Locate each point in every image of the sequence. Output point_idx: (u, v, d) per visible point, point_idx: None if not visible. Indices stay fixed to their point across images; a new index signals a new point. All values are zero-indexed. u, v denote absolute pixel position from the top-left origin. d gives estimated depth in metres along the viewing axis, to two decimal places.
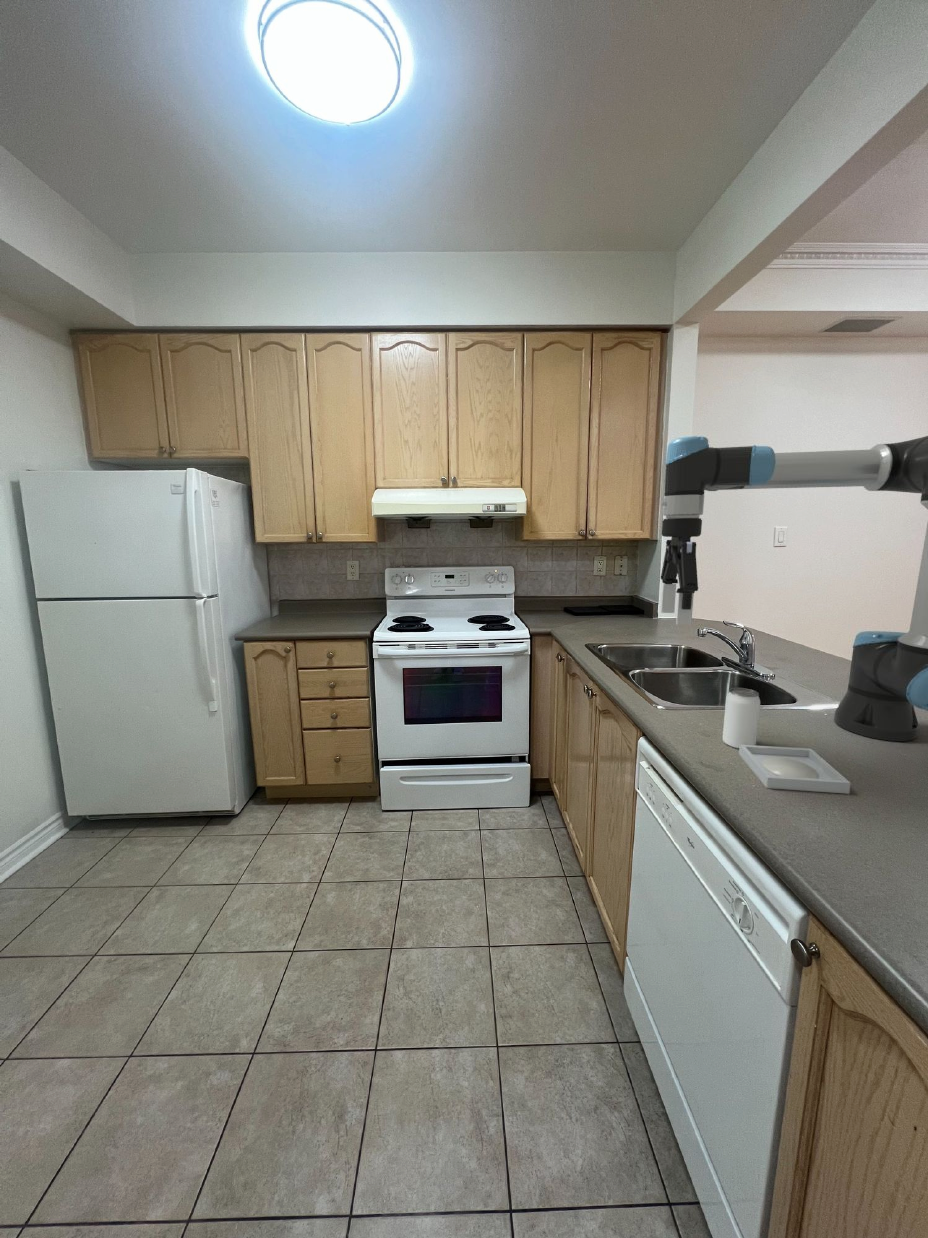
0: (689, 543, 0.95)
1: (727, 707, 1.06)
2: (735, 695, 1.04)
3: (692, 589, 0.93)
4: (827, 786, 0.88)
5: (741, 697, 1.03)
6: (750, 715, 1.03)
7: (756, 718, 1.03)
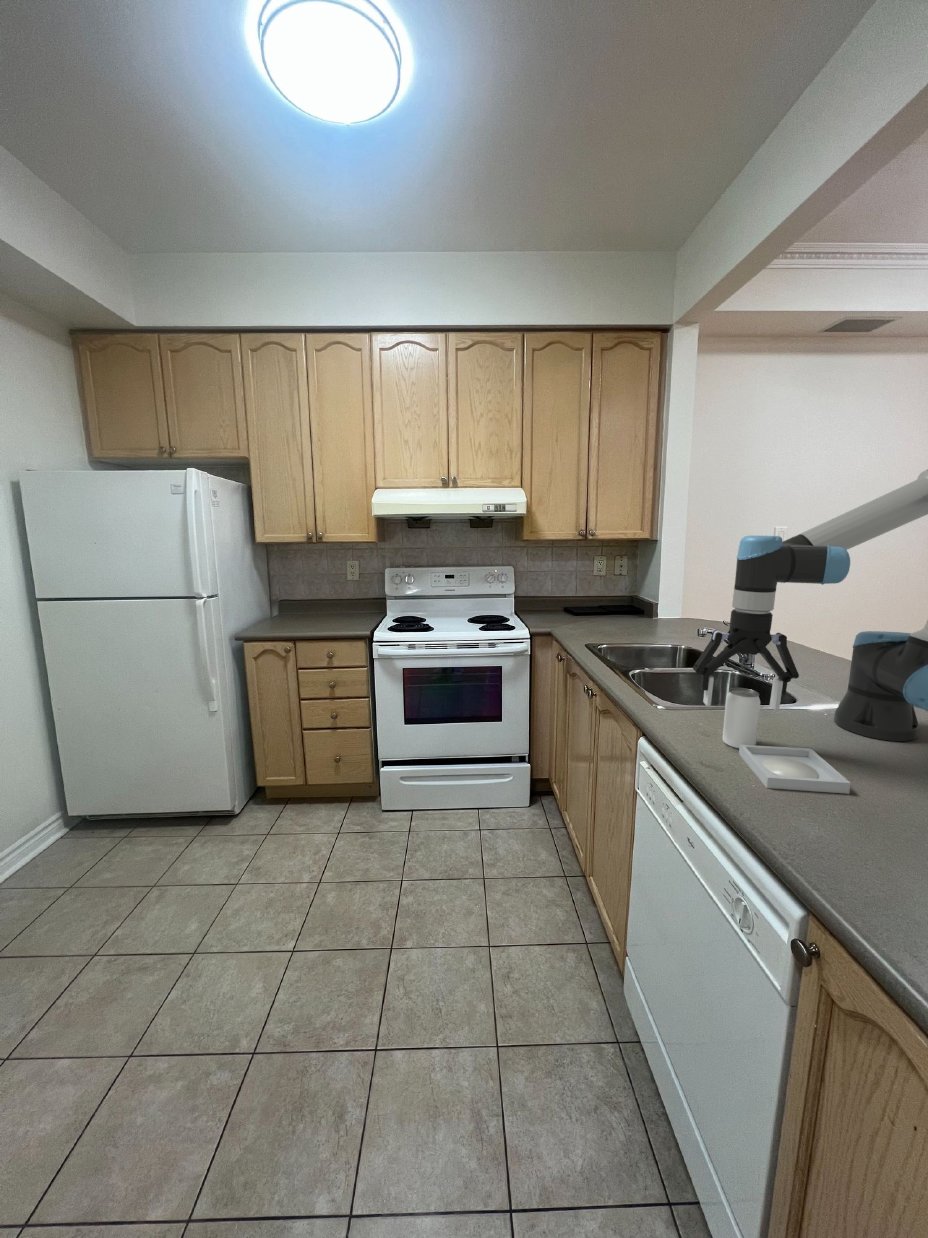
0: (714, 633, 1.04)
1: (727, 707, 1.06)
2: (735, 695, 1.04)
3: (694, 670, 1.06)
4: (827, 786, 0.88)
5: (741, 697, 1.03)
6: (750, 715, 1.03)
7: (756, 718, 1.03)
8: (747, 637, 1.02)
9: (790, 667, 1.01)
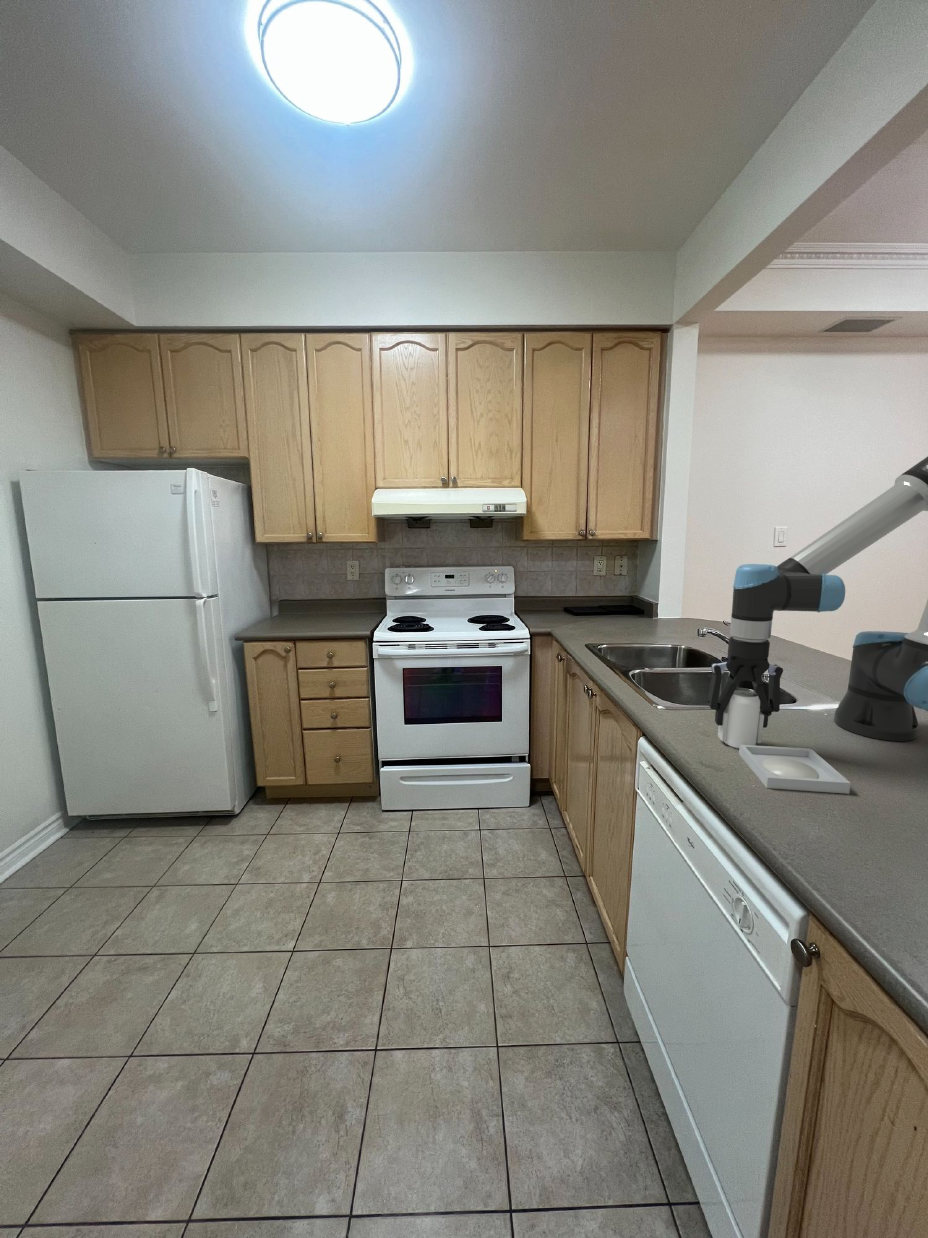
0: (712, 666, 1.05)
1: (727, 707, 1.06)
2: (735, 695, 1.04)
3: (709, 706, 1.07)
4: (827, 786, 0.88)
5: (741, 697, 1.03)
6: (750, 715, 1.03)
7: (756, 718, 1.03)
8: (744, 660, 1.03)
9: (774, 700, 1.03)
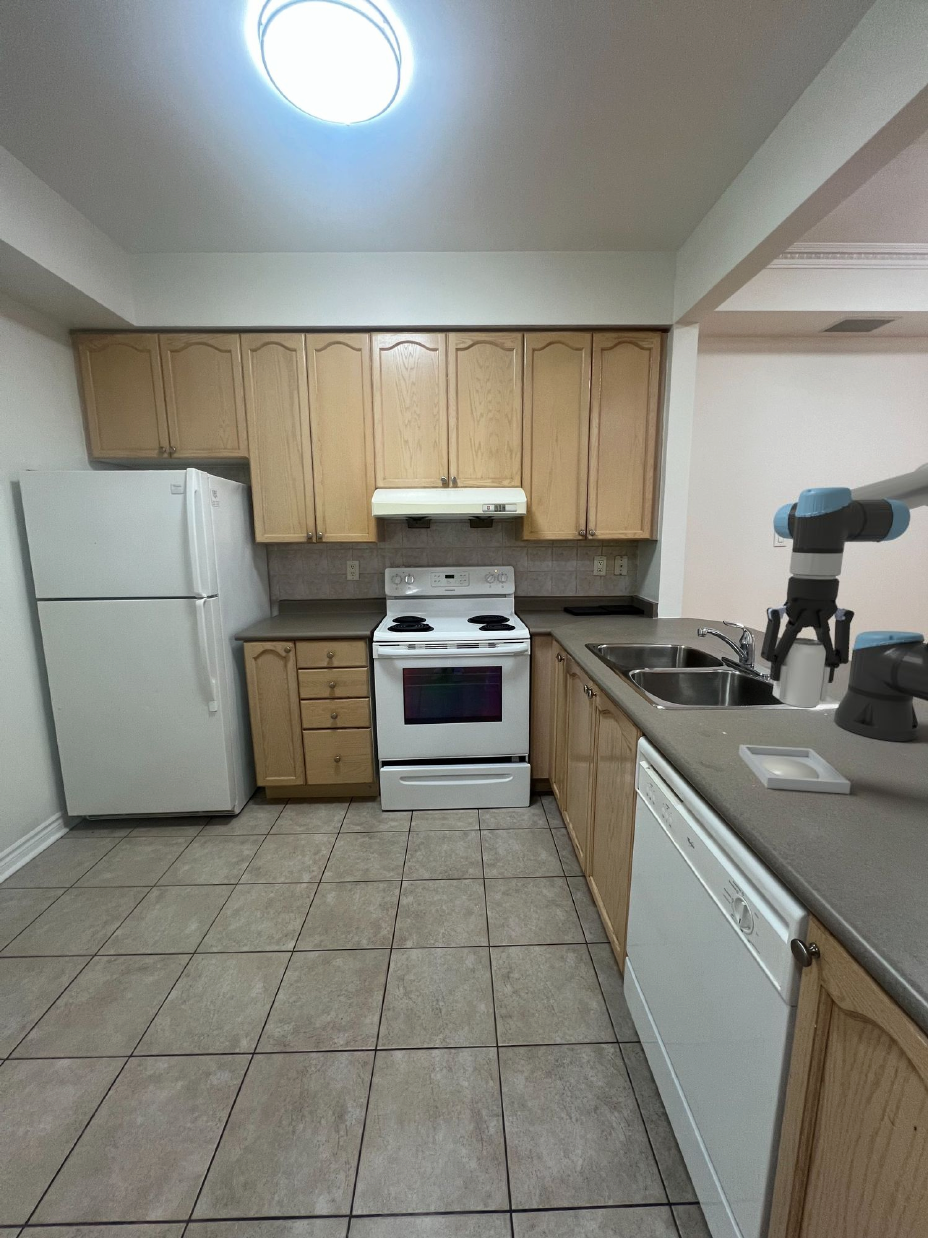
0: (769, 611, 0.90)
1: (785, 659, 0.91)
2: (796, 644, 0.89)
3: (764, 658, 0.91)
4: (827, 786, 0.88)
5: (804, 645, 0.88)
6: (815, 667, 0.88)
7: (821, 671, 0.88)
8: (808, 603, 0.88)
9: (843, 649, 0.88)
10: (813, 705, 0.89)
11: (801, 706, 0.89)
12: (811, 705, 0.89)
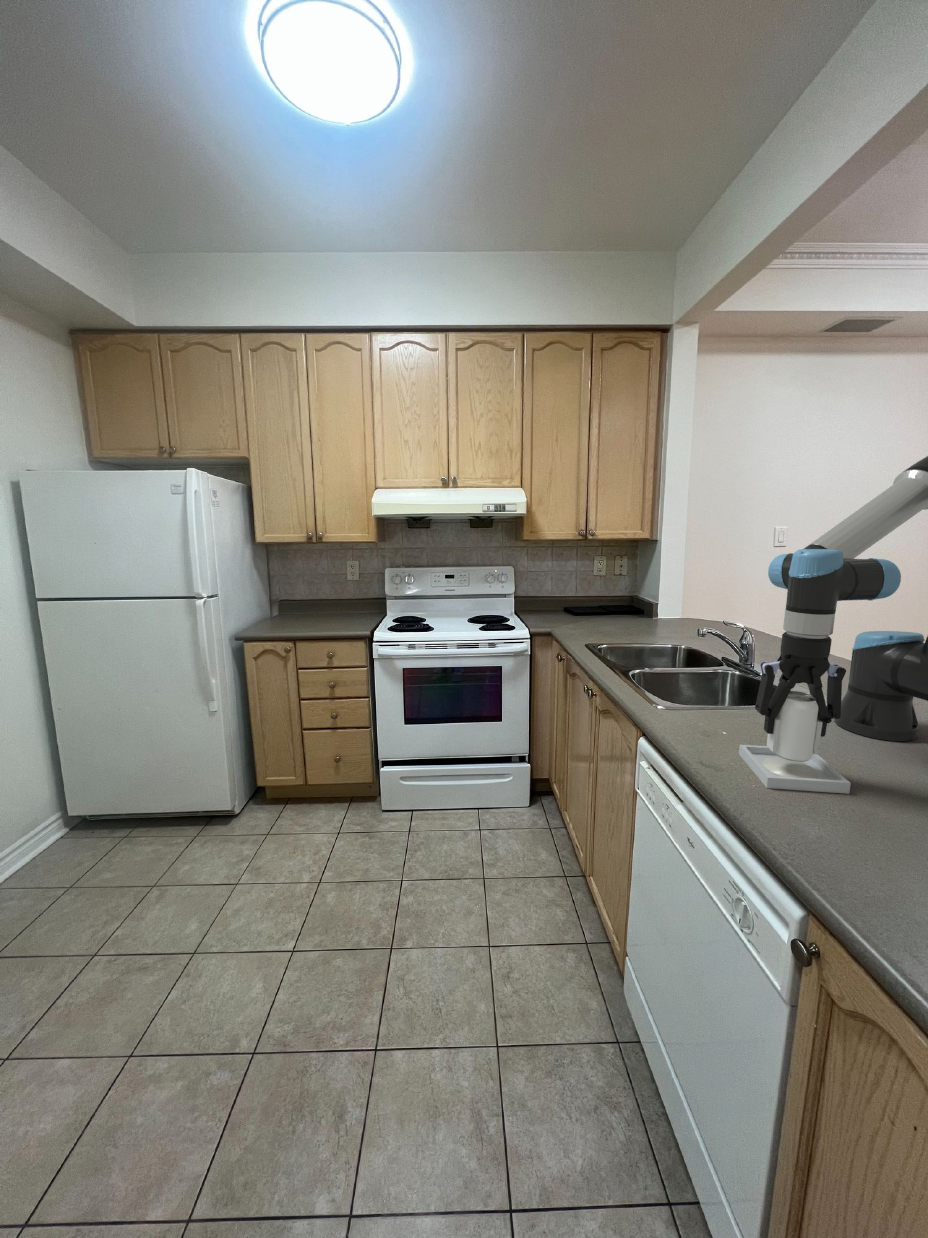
0: (763, 666, 0.92)
1: (779, 713, 0.93)
2: (789, 699, 0.91)
3: (758, 711, 0.94)
4: (827, 786, 0.88)
5: (797, 701, 0.90)
6: (807, 722, 0.90)
7: (814, 726, 0.90)
8: (801, 660, 0.90)
9: (835, 705, 0.90)
10: (806, 759, 0.91)
11: (794, 759, 0.91)
12: (804, 759, 0.91)
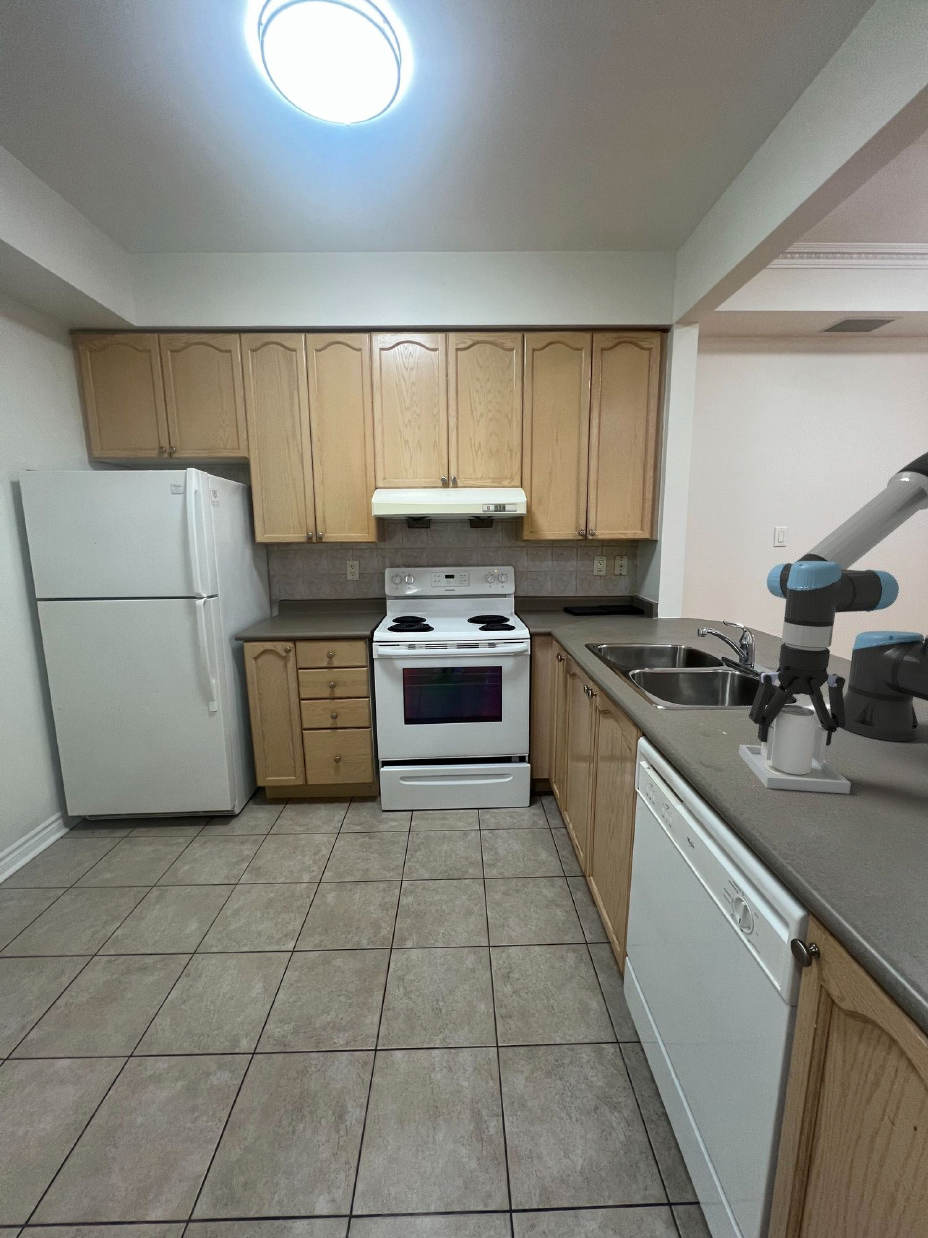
0: (762, 675, 0.92)
1: (777, 727, 0.93)
2: (787, 713, 0.92)
3: (752, 720, 0.94)
4: (827, 786, 0.88)
5: (794, 715, 0.91)
6: (805, 736, 0.90)
7: (812, 739, 0.91)
8: (800, 672, 0.90)
9: (839, 714, 0.90)
10: (805, 772, 0.92)
11: (793, 773, 0.92)
12: (803, 772, 0.92)
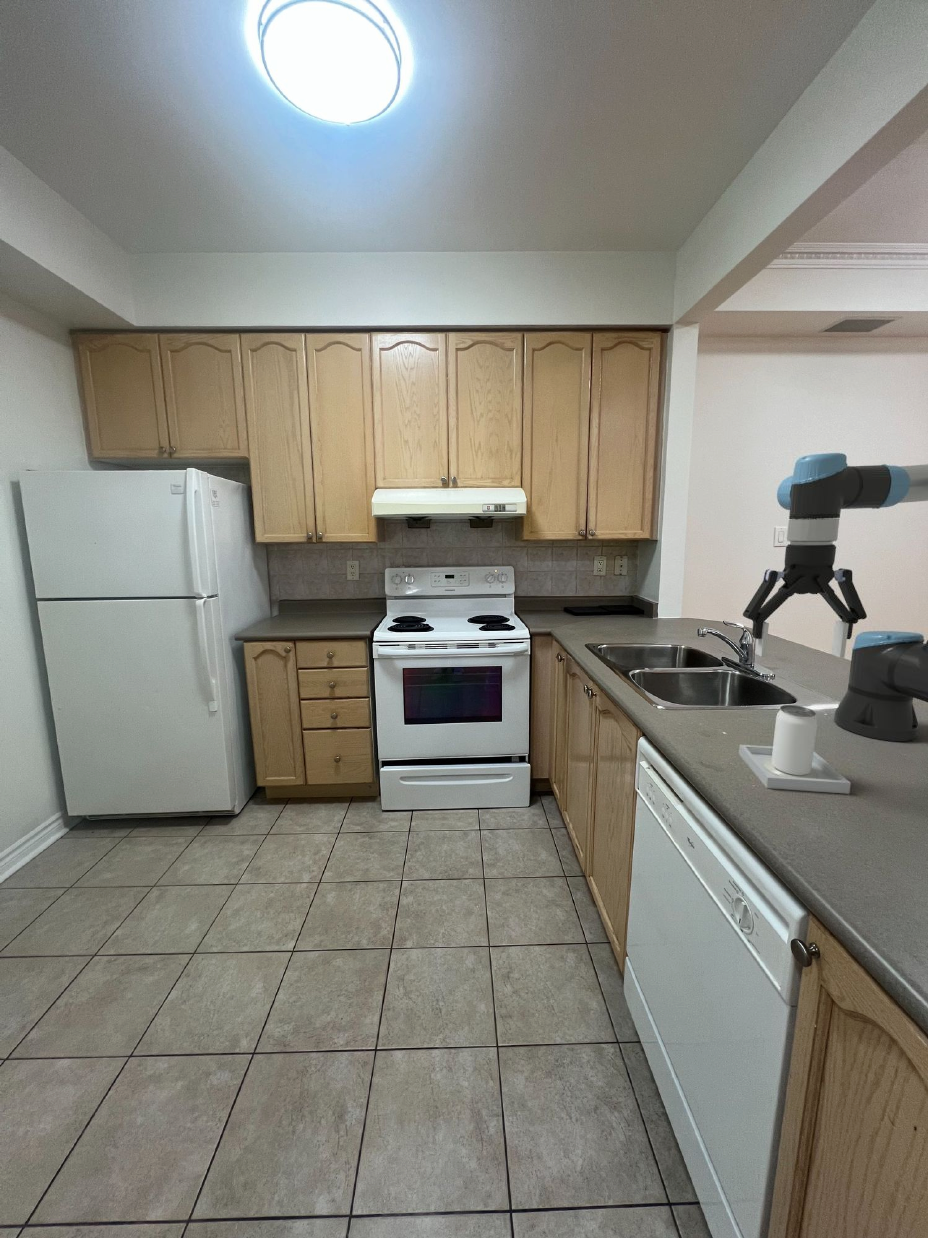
0: (768, 571, 0.91)
1: (778, 727, 0.93)
2: (788, 714, 0.91)
3: (746, 616, 0.93)
4: (827, 786, 0.88)
5: (796, 716, 0.91)
6: (806, 737, 0.90)
7: (813, 740, 0.91)
8: (806, 574, 0.89)
9: (856, 606, 0.89)
10: (805, 773, 0.92)
11: (793, 774, 0.92)
12: (803, 773, 0.92)
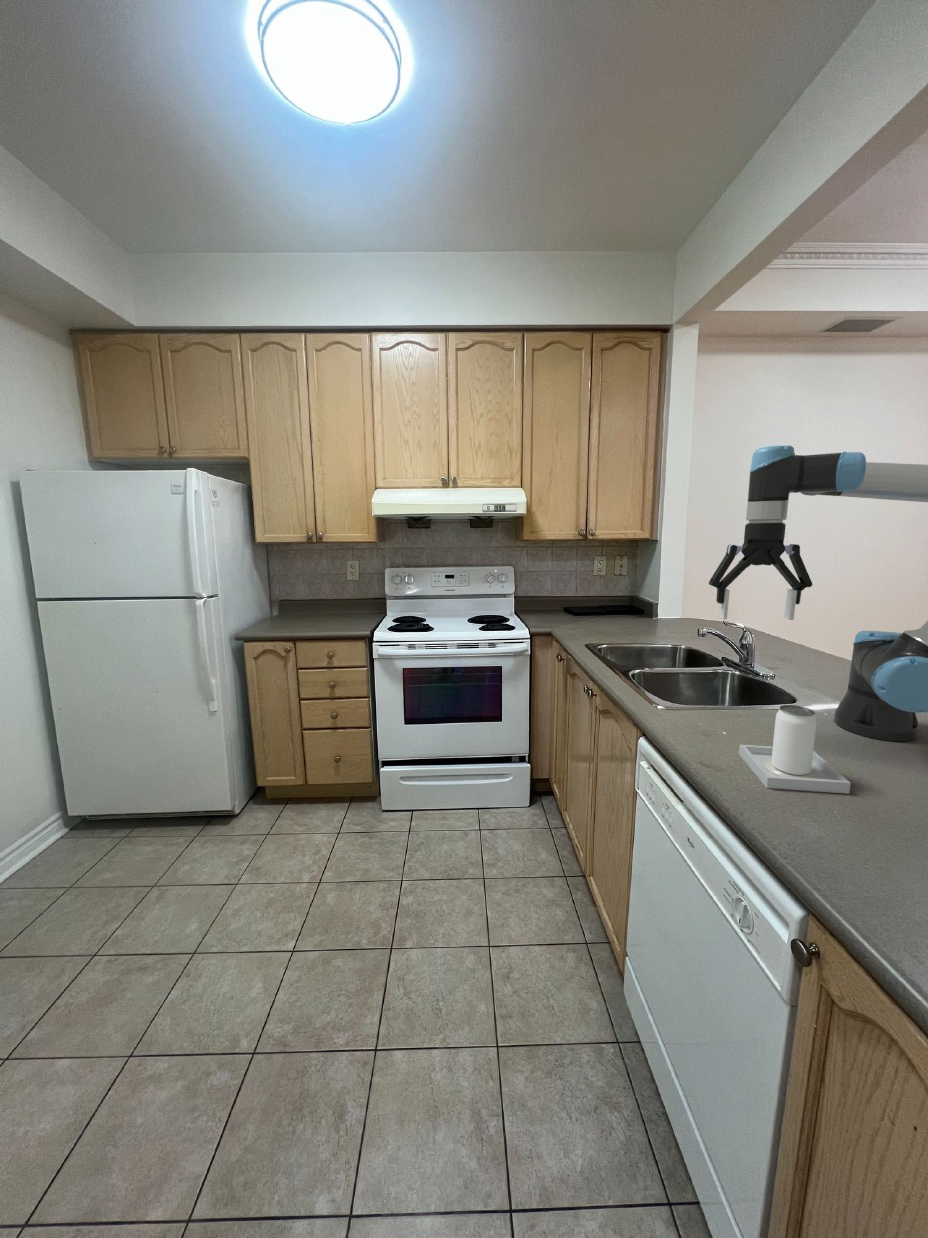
0: (729, 546, 1.07)
1: (778, 727, 0.93)
2: (788, 714, 0.92)
3: (710, 584, 1.09)
4: (827, 786, 0.88)
5: (795, 716, 0.91)
6: (806, 737, 0.90)
7: (812, 740, 0.91)
8: (761, 548, 1.05)
9: (803, 576, 1.05)
10: (805, 773, 0.92)
11: (793, 773, 0.92)
12: (803, 773, 0.92)
